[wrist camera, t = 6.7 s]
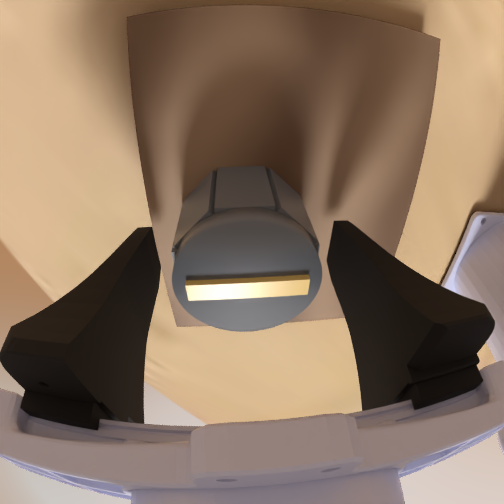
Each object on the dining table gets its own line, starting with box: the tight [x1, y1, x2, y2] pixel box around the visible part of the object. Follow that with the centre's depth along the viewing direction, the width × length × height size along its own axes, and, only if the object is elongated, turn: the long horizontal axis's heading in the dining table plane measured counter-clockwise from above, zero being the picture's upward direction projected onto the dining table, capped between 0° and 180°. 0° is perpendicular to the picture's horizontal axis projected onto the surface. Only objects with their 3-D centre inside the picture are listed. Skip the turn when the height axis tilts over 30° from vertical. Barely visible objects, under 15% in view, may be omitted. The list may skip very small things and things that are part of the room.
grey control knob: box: [171, 166, 322, 332], centre depth 12 cm, size 5×5×4 cm
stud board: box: [127, 5, 440, 327], centre depth 12 cm, size 12×16×4 cm
